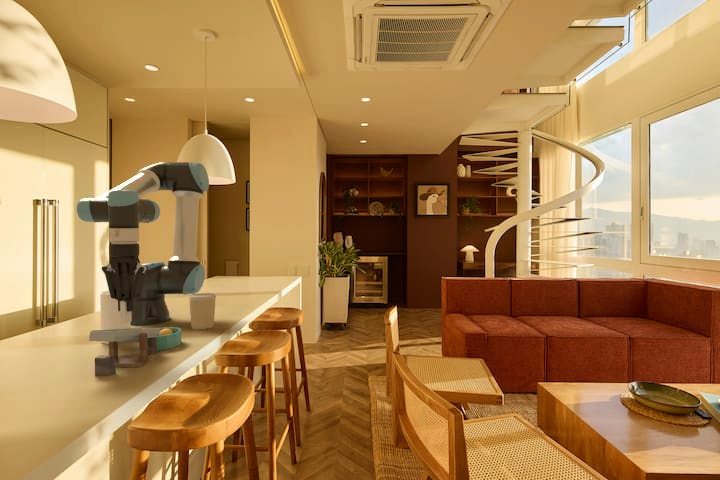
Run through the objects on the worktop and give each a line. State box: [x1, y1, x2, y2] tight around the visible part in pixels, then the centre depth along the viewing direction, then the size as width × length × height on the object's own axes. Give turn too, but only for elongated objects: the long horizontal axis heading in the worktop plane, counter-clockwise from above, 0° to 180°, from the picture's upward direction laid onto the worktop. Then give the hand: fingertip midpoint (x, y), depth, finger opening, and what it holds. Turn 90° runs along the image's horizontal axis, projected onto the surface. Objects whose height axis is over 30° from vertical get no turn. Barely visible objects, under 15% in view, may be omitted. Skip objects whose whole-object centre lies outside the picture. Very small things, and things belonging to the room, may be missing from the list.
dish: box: [156, 326, 182, 351], centre depth 118 cm, size 11×11×4 cm
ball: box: [159, 328, 173, 336], centre depth 120 cm, size 4×4×4 cm
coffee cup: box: [188, 292, 217, 330], centre depth 140 cm, size 9×9×12 cm
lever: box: [88, 327, 161, 344], centre depth 103 cm, size 20×11×4 cm, turn 176°
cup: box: [99, 290, 131, 345], centre depth 123 cm, size 8×8×16 cm
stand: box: [94, 333, 157, 377], centre depth 103 cm, size 19×11×8 cm, turn 176°
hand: (126, 322), depth 110 cm, fingers closed
